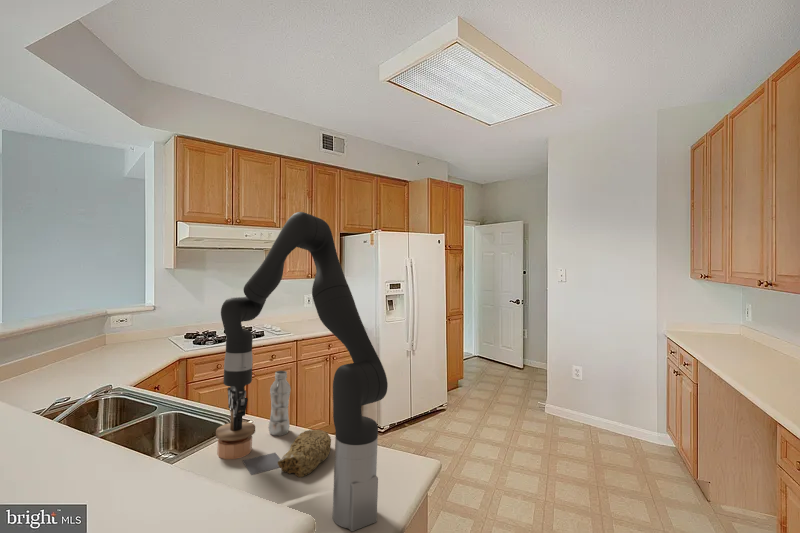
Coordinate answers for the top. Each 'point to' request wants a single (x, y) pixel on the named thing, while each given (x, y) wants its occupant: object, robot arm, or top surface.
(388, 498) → the top surface
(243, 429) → the lid
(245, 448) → the bowl
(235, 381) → the robot arm
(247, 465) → the mat
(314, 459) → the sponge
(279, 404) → the plastic bottle
